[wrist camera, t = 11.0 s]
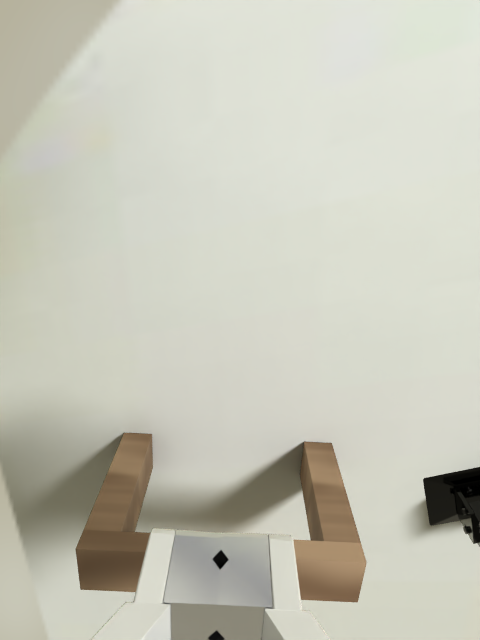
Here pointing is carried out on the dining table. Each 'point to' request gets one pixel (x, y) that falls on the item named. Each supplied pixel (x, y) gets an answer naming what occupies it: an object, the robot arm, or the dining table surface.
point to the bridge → (311, 556)
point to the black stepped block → (455, 500)
